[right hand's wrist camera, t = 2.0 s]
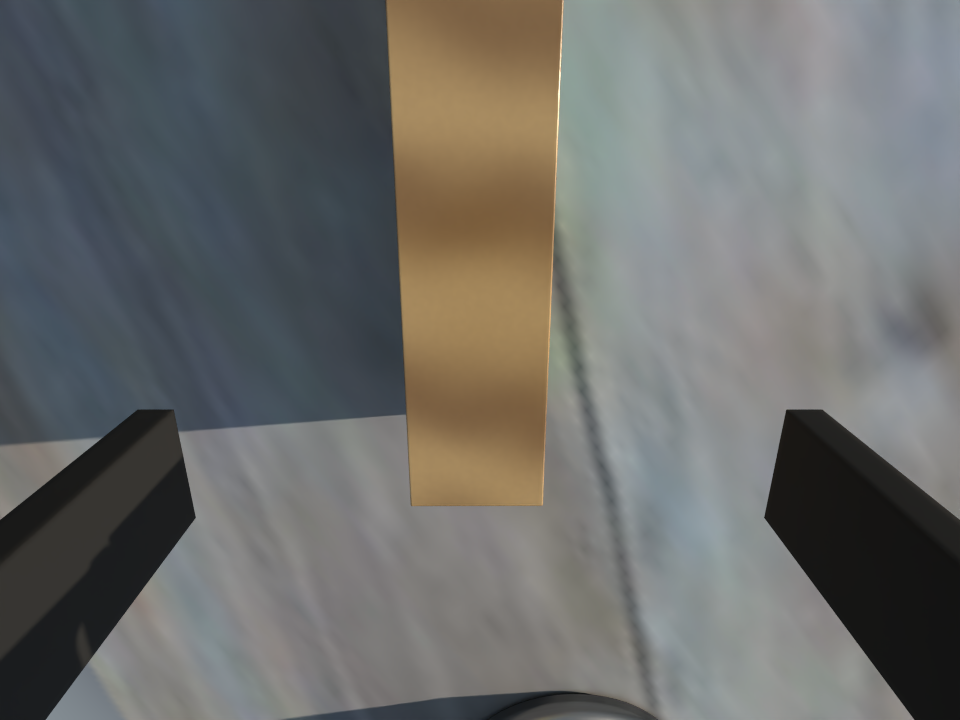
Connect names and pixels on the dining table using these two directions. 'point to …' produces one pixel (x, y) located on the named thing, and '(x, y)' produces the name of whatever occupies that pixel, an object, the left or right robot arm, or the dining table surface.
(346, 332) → the dining table surface
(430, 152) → the post
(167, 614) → the dining table surface
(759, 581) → the dining table surface
